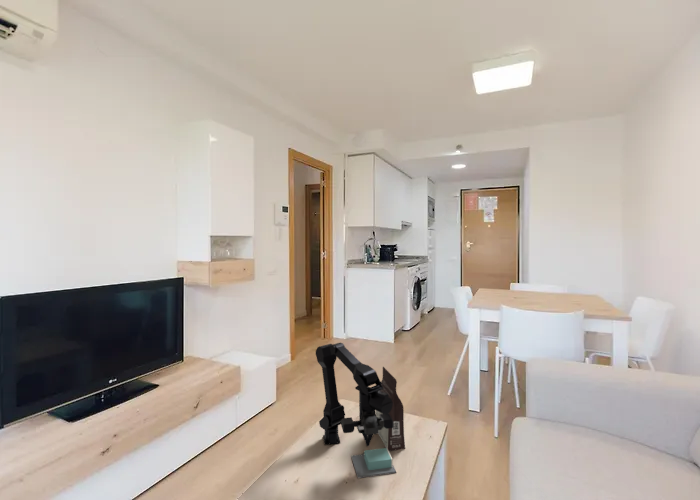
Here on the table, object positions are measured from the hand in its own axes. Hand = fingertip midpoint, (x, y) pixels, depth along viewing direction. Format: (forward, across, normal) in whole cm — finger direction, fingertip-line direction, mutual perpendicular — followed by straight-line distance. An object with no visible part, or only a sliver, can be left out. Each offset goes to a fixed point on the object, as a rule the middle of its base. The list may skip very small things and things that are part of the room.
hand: (367, 445), depth 130 cm
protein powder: (+8, +13, +15) cm, 21 cm away
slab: (+6, 0, 0) cm, 6 cm away
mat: (+8, +2, 0) cm, 8 cm away
